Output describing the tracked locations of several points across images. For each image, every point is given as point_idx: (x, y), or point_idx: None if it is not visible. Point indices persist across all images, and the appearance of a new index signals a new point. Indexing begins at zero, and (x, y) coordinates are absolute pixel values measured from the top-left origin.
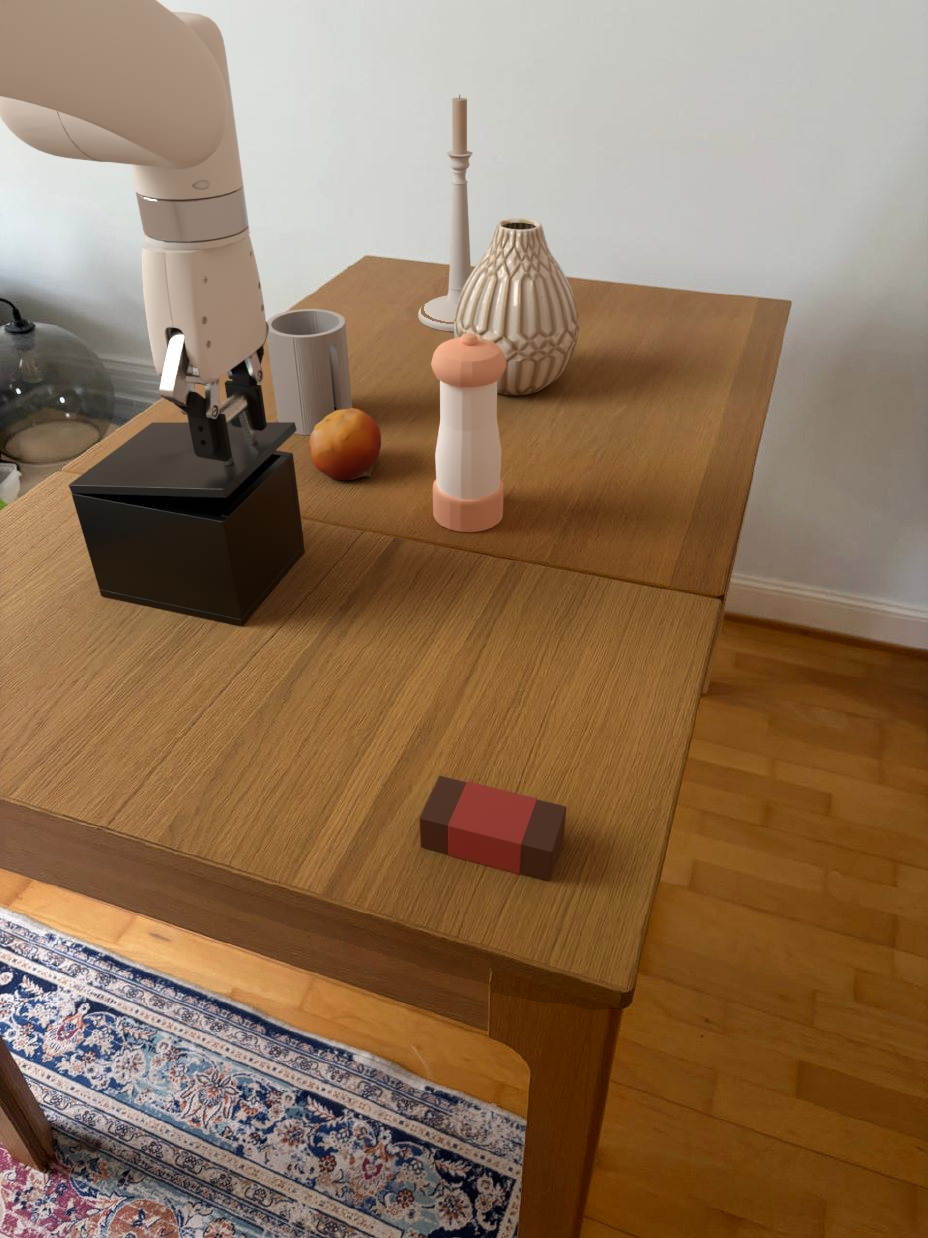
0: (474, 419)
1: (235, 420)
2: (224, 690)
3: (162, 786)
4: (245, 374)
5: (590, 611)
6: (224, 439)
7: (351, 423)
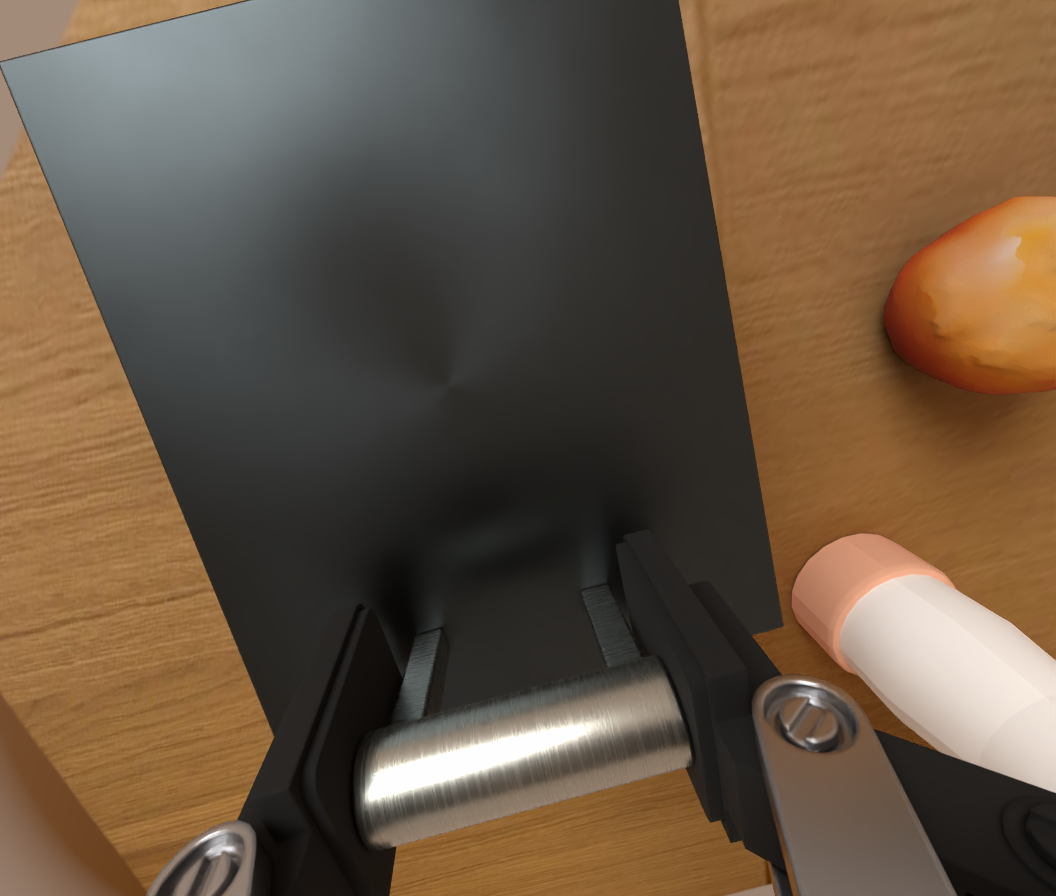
0: None
1: (626, 575)
2: None
3: (64, 650)
4: (778, 847)
5: (681, 814)
6: None
7: (1052, 358)
